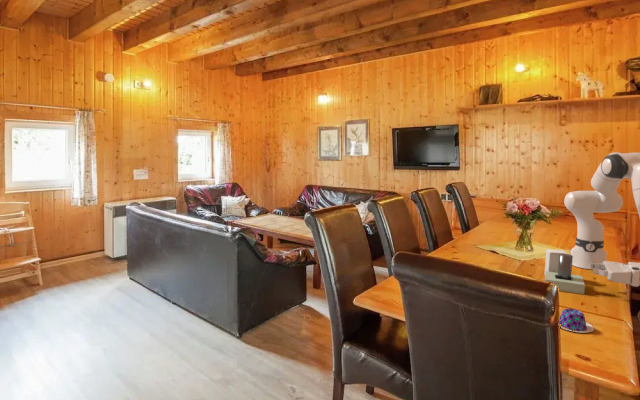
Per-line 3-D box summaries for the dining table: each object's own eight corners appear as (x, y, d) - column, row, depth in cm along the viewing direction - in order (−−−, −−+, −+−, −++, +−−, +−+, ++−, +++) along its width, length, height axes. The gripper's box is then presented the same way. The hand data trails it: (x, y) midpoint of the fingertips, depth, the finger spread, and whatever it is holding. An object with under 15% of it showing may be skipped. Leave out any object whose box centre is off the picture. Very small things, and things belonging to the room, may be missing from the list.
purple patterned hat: (559, 332, 125) (560, 317, 125) (545, 317, 137) (546, 303, 136) (601, 336, 123) (602, 320, 122) (583, 320, 135) (584, 306, 134)
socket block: (544, 279, 179) (545, 271, 178) (581, 284, 172) (582, 275, 171) (544, 288, 166) (545, 279, 166) (584, 294, 160) (584, 284, 159)
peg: (556, 284, 172) (558, 253, 171) (569, 286, 170) (572, 254, 168) (556, 287, 168) (559, 255, 166) (570, 289, 166) (573, 257, 164)
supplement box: (566, 280, 177) (568, 253, 176) (547, 279, 179) (549, 252, 178) (561, 276, 184) (563, 250, 183) (543, 274, 186) (545, 248, 185)
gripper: (629, 259, 165) (590, 255, 172) (639, 271, 147) (594, 266, 154) (628, 274, 166) (588, 269, 172) (637, 288, 148) (593, 282, 155)
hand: (591, 268), depth 163 cm, fingers open, 8 cm apart
